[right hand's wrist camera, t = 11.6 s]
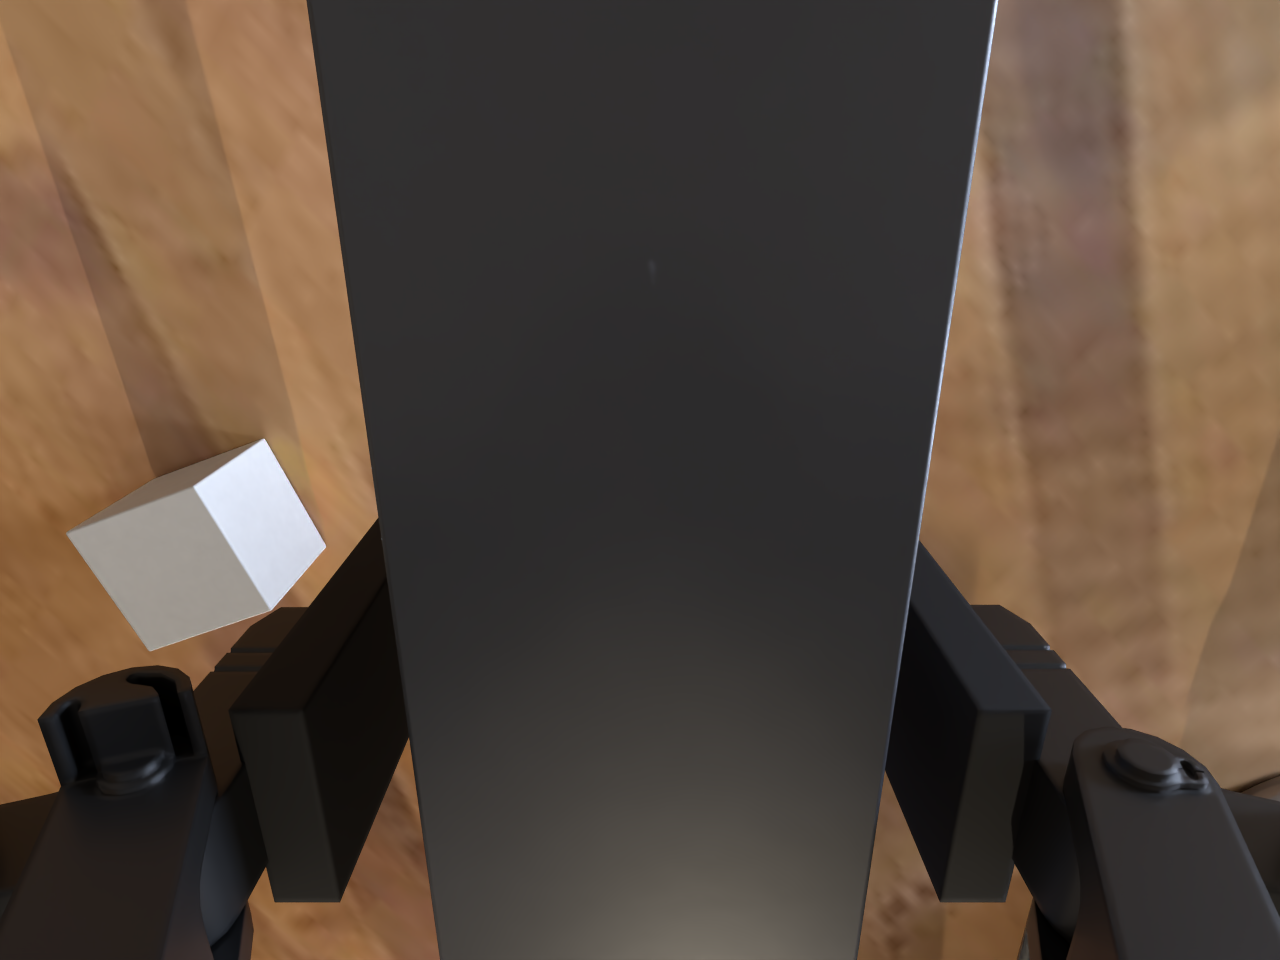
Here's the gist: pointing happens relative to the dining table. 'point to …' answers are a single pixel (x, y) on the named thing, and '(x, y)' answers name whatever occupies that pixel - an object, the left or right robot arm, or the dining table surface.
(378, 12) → the bar
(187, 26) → the dining table surface
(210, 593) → the pale grey block
